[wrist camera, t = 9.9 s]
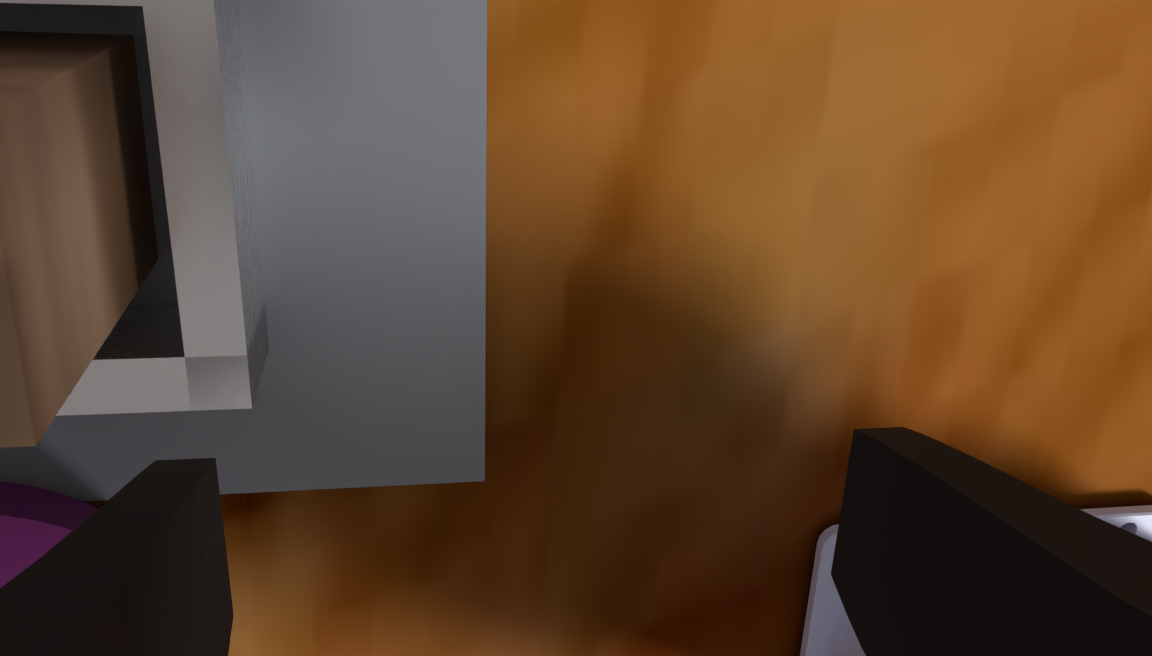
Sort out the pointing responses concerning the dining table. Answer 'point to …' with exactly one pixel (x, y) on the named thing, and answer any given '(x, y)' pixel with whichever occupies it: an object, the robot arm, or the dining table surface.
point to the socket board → (291, 249)
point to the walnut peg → (66, 214)
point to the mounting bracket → (34, 524)
